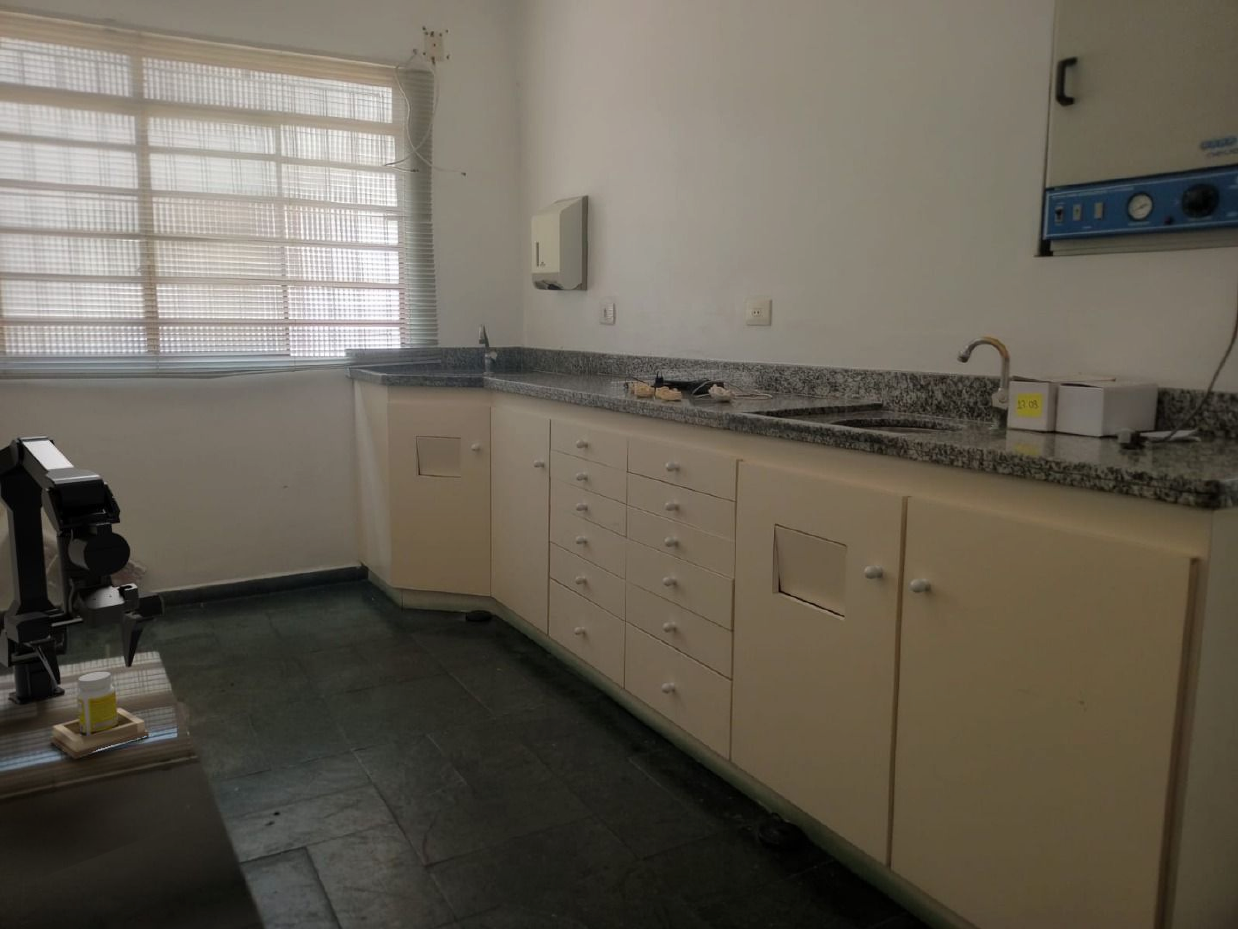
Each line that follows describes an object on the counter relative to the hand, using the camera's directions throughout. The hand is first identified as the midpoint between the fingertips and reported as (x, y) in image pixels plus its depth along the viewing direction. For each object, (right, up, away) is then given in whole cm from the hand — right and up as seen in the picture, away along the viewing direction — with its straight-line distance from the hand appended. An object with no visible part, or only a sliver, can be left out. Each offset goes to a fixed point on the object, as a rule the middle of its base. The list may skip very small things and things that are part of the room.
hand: (94, 675), depth 134 cm
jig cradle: (0, -9, +1) cm, 9 cm away
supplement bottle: (0, -9, +1) cm, 9 cm away
